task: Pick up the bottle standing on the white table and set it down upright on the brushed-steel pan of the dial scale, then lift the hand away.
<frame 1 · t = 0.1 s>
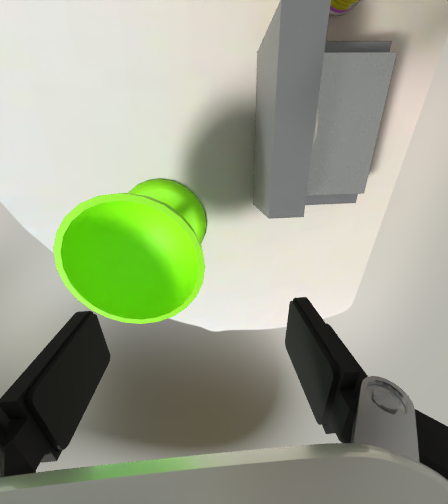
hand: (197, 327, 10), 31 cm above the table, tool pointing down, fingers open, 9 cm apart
wineglass: (164, 223, 40), on the table
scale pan: (337, 132, 31), point 5 cm above the table, slide at 0.0 cm, touching scale
scale: (307, 136, 35), on the table
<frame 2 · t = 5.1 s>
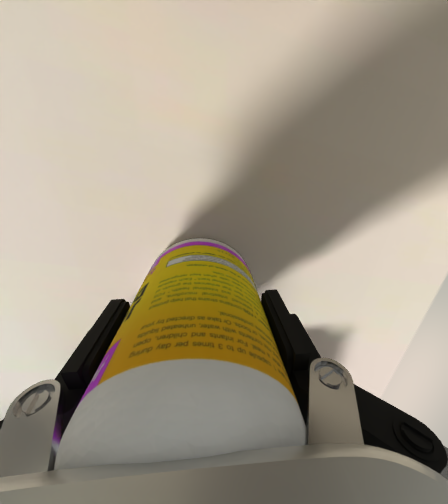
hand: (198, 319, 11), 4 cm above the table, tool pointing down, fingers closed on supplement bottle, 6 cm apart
supplement bottle: (201, 279, 14), on the table, touching gripper
when the fingers open (10 cm above the table, at t = 11.6 s): supplement bottle drops 1 cm, resting on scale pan.
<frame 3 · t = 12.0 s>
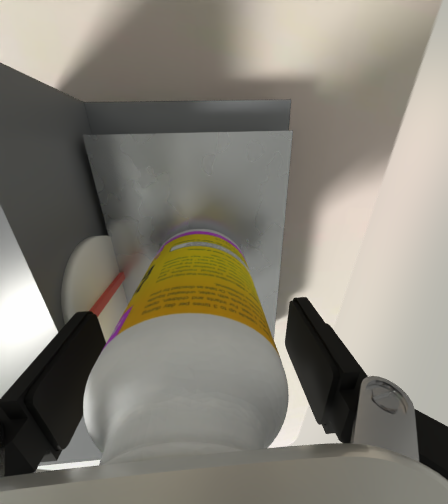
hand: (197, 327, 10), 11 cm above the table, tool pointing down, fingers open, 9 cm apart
supplement bottle: (201, 267, 16), point 5 cm above the table, touching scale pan
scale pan: (201, 267, 16), point 5 cm above the table, slide at 0.0 cm, touching supplement bottle, scale
scale: (177, 246, 20), on the table
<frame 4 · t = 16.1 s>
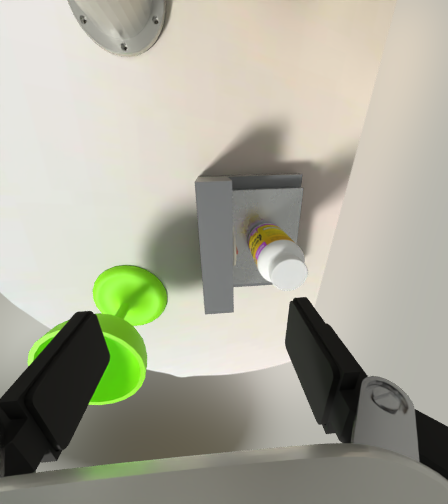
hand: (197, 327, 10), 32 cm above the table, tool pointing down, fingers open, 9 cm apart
wineglass: (131, 296, 47), on the table
supplement bottle: (264, 239, 38), point 5 cm above the table, touching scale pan
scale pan: (264, 239, 39), point 5 cm above the table, slide at 0.0 cm, touching supplement bottle, scale
scale: (246, 232, 43), on the table
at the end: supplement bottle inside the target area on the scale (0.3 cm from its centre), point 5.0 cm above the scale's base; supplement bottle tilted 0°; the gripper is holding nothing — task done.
